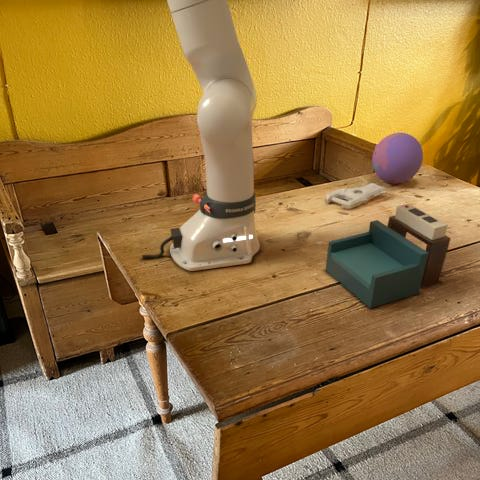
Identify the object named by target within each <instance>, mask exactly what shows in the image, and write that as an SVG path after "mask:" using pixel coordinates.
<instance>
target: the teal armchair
mask: <svg viewBox="0 0 480 480" xmlns="http://www.w3.org/2000/svg"><path fill="white" fill-rule="evenodd" d="M387 226H388V225H386V224H384V223H383V222H381V221H380V220H378V219H376V220H372V221H370V222H369V227H368V231H365V232H361V233H358V234H353V235H350V236H346V237H343V238H338V239H334V240H330V241H328V245H327V253H326V262H325V272H327V273H328V274H329V275H331V276H332V277H333V278H334V279H335V280H336V281H338V282H339V283H340V284H341V285H342V286H344V288H346V289H347V290H348V291H349V292H351V294H353V295H354V296H355V297H356V298H357V299H359V300H360V301H361V302H363V304H365V305H366V306H367V307H368V308H370V309H373V308H376V307H378V306H382V305H386V304H388V303H392V302H394V301H398V300H401V299H404V298H408V297H411V296H414V295H417V294H419V293H420V290H421V288H422V287H421V283H422V279H423V275H424V271H425V267H426V263H427V259H428V255H429V252H427V251H425V250H426V249H424V248H422V247H421V246H419V245H418V244H416V243H414V242H413V241H411V240H410V239H408V238H407V237H406V238H405V237H403V236H402V235H400V234H398V233H397V232H395V231H394V230H392V229H391V228H389V227H387Z"/></svg>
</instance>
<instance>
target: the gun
mask: <svg viewBox="0 0 480 480" xmlns="http://www.w3.org/2000/svg"><path fill="white" fill-rule="evenodd" d="M386 193H388V191H387V187H385V186H381V185H378V184H377V183H375V182H370V183H368V184H366V185H363V186H360V187H351V188H349V187H341V188H339V189H336V190H334V191H331V192H329V193H327V194H326V195H325V199H326V203H327V204H330V203H336V204H339V205H341V209H346V210H351V209H353V208H356V207H358V206H360V205H363V204H368V201H370V200H372V199H374V198H376V197H379V196H381V195H384V194H386Z"/></svg>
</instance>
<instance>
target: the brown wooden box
mask: <svg viewBox="0 0 480 480" xmlns="http://www.w3.org/2000/svg"><path fill="white" fill-rule="evenodd" d="M386 226H387V227H389V228H391V229H392V230H394V231H395V232H397V233H398V234H400V235H402V236H403V237H405V238H406V239H407V233H408V234H409V235H411V236H412V237H414V238H416V239H417V240H419V241H421V242H422V243H424V244H426V246H425V249H424V250H425V251H427V252H429V255H428V259H427V263H426V267H425V271H424V275H423V279H422V283H421V287H420V288H423V287H426V286H430V285H434V284H437V283H439V282H440V279H441V275H442V271H443V267H444V263H445V260H446V256H447V253H448V250H449V246H450V243H451V239H452V238H451V237H450V236H447V235H446V234H445V237H442V238H438V239H434V240H431V239H429V238H428V237H426V236H424V235H423V234H421V233H419V232H418V231H416V230H414V229H413V228H411V227H409V226H408V225H406V224H404V223H403V222H401V221H399V220H398V219H396V218H395V215H392V216H388V222H387V225H386Z"/></svg>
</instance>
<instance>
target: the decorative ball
mask: <svg viewBox="0 0 480 480" xmlns="http://www.w3.org/2000/svg"><path fill="white" fill-rule="evenodd" d="M371 159H372V160H371V164H372V169H373V171H374V173H375V174H376V175H377V177H378V178H379V179H380V180H382V181H383V182H385V183H388V184H395V185H397V184H403V183H406V182H408V181H410V180H411V179H412V178H413V177H415V176H416V175H417V173H418V172H419V171H420V169H421V168H422V164H423V160H424V152H423V147H422V144H421V143H420V142H419V140H418V139H417V138H416V137H414V136H413V135H411V134H409V133H405V132H395V133H391V134H388V135H386V136H384V137H383V138H382V139H381V140H380V141H379V142H378V144H375V146H374V150H373V153H372V156H371Z"/></svg>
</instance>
